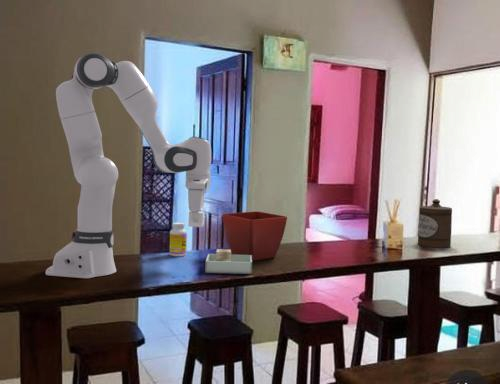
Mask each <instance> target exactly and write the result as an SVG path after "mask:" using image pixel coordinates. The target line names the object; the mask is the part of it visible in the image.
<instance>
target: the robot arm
mask: <svg viewBox="0 0 500 384" xmlns="http://www.w3.org/2000/svg"><path fill="white" fill-rule="evenodd" d="M104 87H108V88H110V89H111V90H113V92H114V93H115V94H116V96H117V98H118V99H119V101H120V103H121V104H122V106H123V107H124V109H125V110H126V112H127V113H128V114H129V115H130V117H131V118H132V119H133V121H134V122H135V123H136V125H137V126H138V128H139V129H140V131H141V133H142V135H143V136H144V139H145V141H146V143H148V145H149V148H150V150H151V153H152V161H153V165H154V166H155V167H156V169H157V170H158V171H160V172H162V173H166V174H167V173H168V174H170V173H171V174H179V173H180V174H181V173H184V172H185V183H184V184H185V185H184V187H185V188H186V189H187V196H188V197H187V201H188V209H189V212H190V211H192V214H193V222H194V223H197V222H198V214H199V211H201V210H202V208H203V207H204V205H205V193H207V189H210V188H211V177H212V175H211V164H212V147H211V142H210V141H209V140H208V139H206V138H202V137H197V136H190V137H189V138H187V139H185V140H184V141H182V142H179V143H176V144H174V145H173V144H171V143H169V141H167V139H166V137H165V135H164V134H163V131H162V130H161V127H160V126H159V124H158V121H157V119H156V118H157V116H156V114H157V110H158V105H159V104H158V100H157V97H156V94H155V92H154V91H153V89H152V87H151V85H150V83H149V82H148V81H147V79H146V77H145V76H144V75H143V74H142V71H140V69H139V68H138V67H137V66H136V64H135V63H133V62H132V61H129V60H122V61H118V62H117V63H116V62H115V61H113V60H111V59H109V58H108V57H106V56H105V55H103V54H100V53H96V52H89V53H86V54H85V55H82V56H80V57H79V58H78V60H77V61H76V62H75V65H74V68H73V71H72V75H71V79H69V80H66V81H64V82H62V83H60V84H59V85H58V86H57V87H56V89H55V97H56V98H55V100H56V104H57V110H58V116H59V118H60V122H61V124H62V128H63V131H64V134H65V137H66V138H65V139H66V141H67V145H68V149H69V150H68V151H69V157H70V161H71V166H72V170H73V175H74V179H76V182H77V183H78V184H80V185H81V186H80V187H81V188H80V193H79V194H80V195H79V202H78V205H77V229H75V230H73V232H71V233H70V235H69V236H70V238H71V242H69V243H68V244H66V245H65V246H64V247H62V248H61V249H60V250H58V251H57V252H56V253H55V254H54V258H53V261H52V265H51V266H49V267H48V268H46V270H45V275H46V276H52V277H53V276H54V277H62V278H63V277H65V278H75V279H76V278H77V279H91V278H95V277H103V276H108V275H113V274H114V273H116V272H117V268H116V264H115V261H114V260H115V259H114V253H113V246H114V229H112V228H113V203H114V198H115V192H116V187H117V186H116V185H117V181H118V179H119V170H118V168H117V167H118V166H116V164H115V163H114V161H112V160H111V159H110V158H108V157H105V154H104V149H103V148H104V147H103V134H102V130H101V126H100V123H99V119H98V116H97V113H96V111H95V106H94V103H93V98H92V97H93V92H94V91H95V90H99V89H101V88H104ZM201 212H202V211H201Z"/></svg>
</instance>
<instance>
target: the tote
mask: <svg viewBox="0 0 500 384" xmlns="http://www.w3.org/2000/svg"><path fill="white" fill-rule="evenodd" d="M204 270H205V274H206V273H207V274H235V275H237V274H240V275H242V274H243V275H252V274H253V261H252V255H232V253H231V262H227V261H216V253H208V254H207V257H206V260H205V267H204Z"/></svg>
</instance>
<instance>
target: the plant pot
mask: <svg viewBox="0 0 500 384" xmlns="http://www.w3.org/2000/svg"><path fill="white" fill-rule="evenodd" d="M287 220H288V216H285V215H280V214H275V213H269V212H264V211H257V210H256V211H243V212H232V213H222V224H223V228H224V232H225V237H226V240H227V244H228V247H229V250H231V254H232V255H252V262H254V261H260V260H266V259H272V258H276V255H277V253H278V251H279V249H280V245H281V243H282V241H283V238H284V234H285V231H286V226H287Z"/></svg>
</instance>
